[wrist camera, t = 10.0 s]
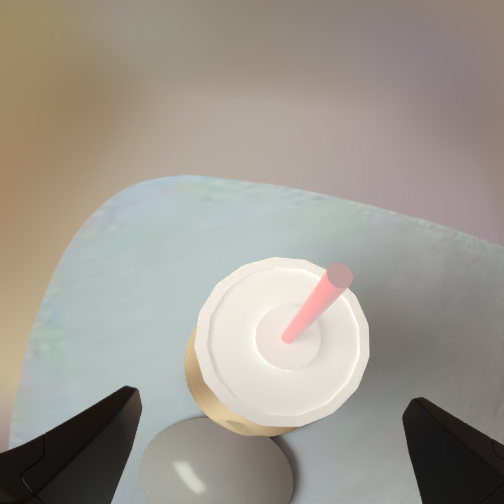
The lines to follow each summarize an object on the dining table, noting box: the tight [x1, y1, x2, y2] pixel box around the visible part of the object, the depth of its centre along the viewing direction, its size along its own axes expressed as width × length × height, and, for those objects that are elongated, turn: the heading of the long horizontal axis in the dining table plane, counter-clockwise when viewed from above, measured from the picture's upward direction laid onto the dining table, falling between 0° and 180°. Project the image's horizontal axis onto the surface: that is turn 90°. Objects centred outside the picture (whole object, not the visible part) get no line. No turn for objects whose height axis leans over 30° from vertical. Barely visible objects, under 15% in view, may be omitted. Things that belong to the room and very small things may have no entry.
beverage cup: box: [194, 257, 369, 427], centre depth 10 cm, size 6×6×14 cm
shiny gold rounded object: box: [185, 326, 298, 437], centre depth 17 cm, size 10×10×1 cm
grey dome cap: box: [140, 417, 294, 504], centre depth 12 cm, size 10×10×1 cm
